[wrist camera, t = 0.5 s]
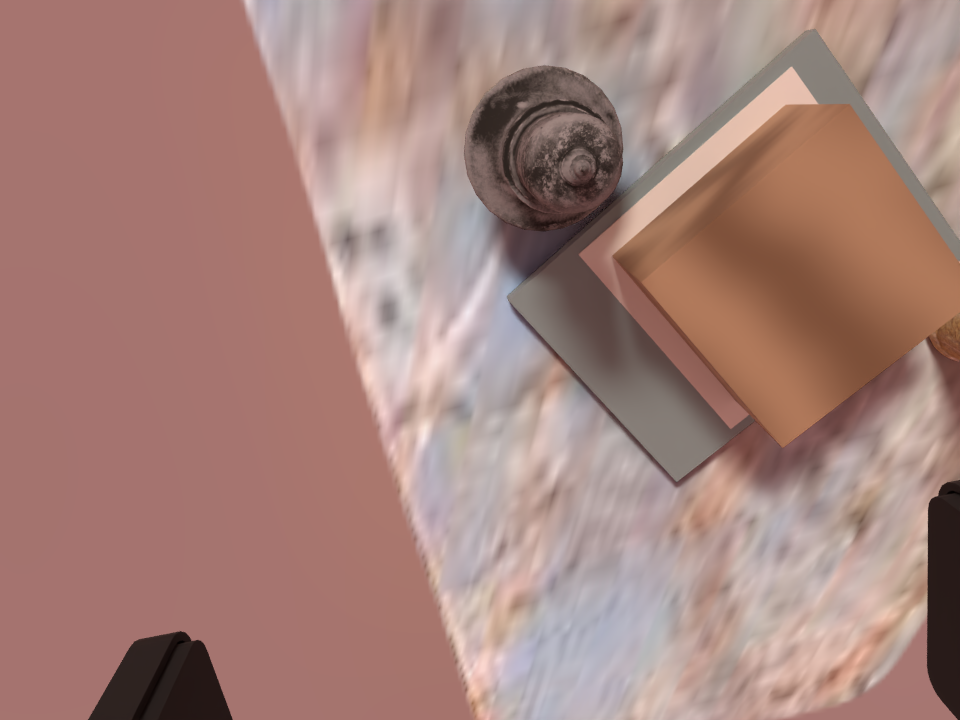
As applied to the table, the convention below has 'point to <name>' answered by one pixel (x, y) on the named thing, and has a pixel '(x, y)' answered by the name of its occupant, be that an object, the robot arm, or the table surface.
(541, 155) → the dark grey chess piece
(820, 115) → the walnut block
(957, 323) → the sprinkles bottle
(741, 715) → the table surface
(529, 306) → the grey flat slab
